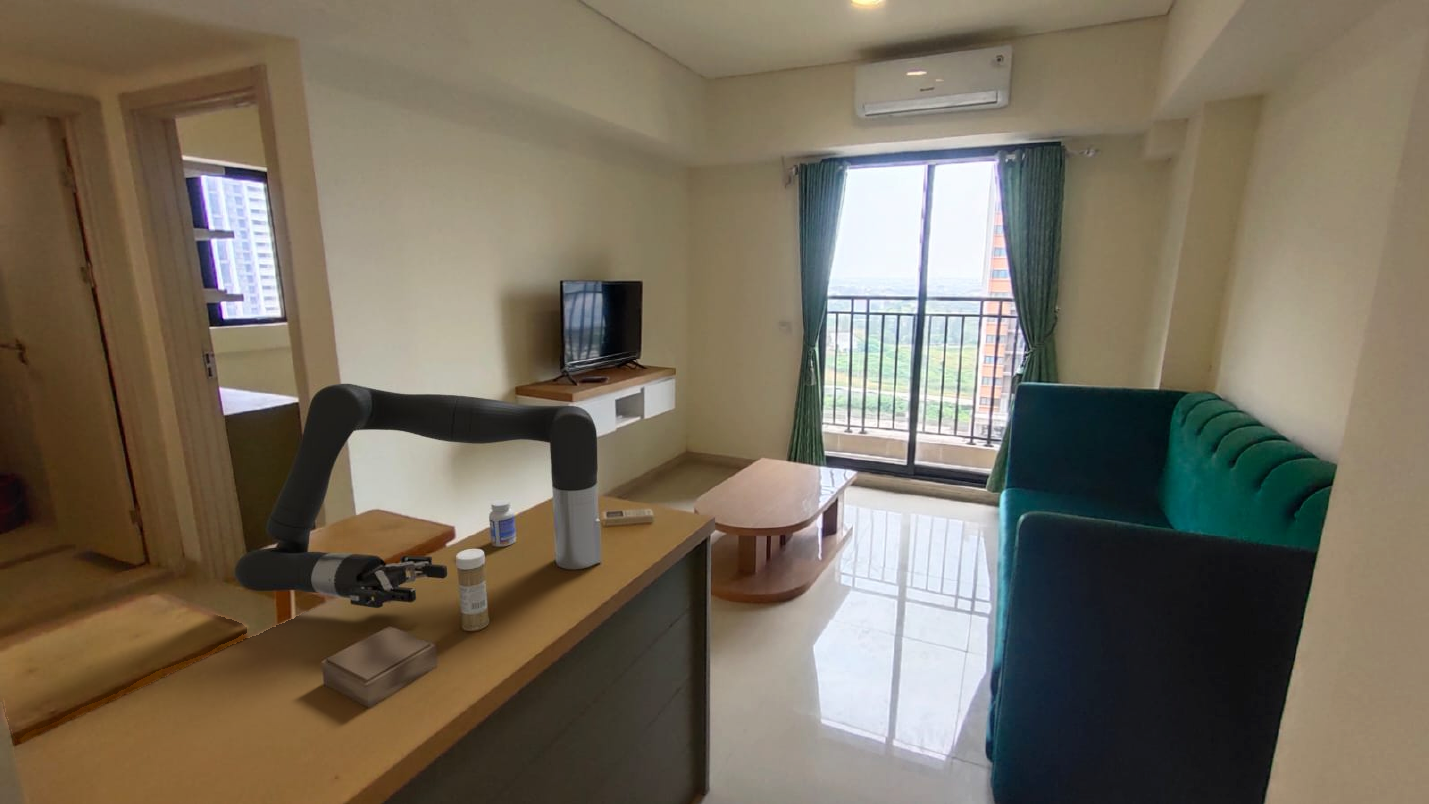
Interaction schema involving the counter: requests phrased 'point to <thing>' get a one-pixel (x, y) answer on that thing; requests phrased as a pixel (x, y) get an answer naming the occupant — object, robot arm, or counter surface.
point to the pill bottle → (502, 524)
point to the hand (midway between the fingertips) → (430, 583)
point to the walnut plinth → (379, 665)
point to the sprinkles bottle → (472, 589)
